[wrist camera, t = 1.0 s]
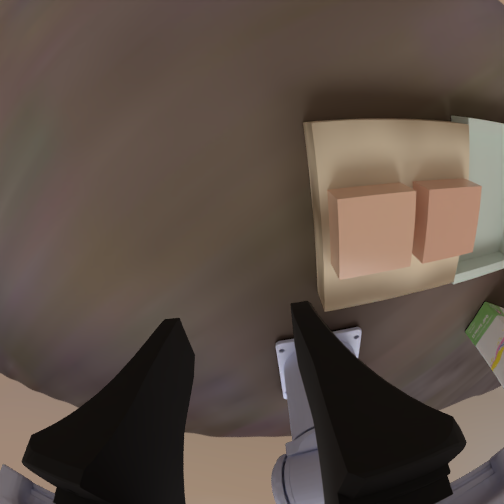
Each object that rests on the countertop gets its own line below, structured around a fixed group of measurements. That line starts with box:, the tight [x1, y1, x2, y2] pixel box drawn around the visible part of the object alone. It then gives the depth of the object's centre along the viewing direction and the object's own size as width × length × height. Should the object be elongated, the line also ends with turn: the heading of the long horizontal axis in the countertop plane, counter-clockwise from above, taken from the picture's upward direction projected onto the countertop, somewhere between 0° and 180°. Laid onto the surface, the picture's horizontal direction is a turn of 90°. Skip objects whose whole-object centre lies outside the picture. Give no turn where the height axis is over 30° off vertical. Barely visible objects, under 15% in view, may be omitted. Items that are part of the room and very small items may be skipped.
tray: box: [451, 115, 504, 284], centre depth 17 cm, size 14×9×2 cm
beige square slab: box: [303, 118, 469, 312], centre depth 18 cm, size 13×12×2 cm
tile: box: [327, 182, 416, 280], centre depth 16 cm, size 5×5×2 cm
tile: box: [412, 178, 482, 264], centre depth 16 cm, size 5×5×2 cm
